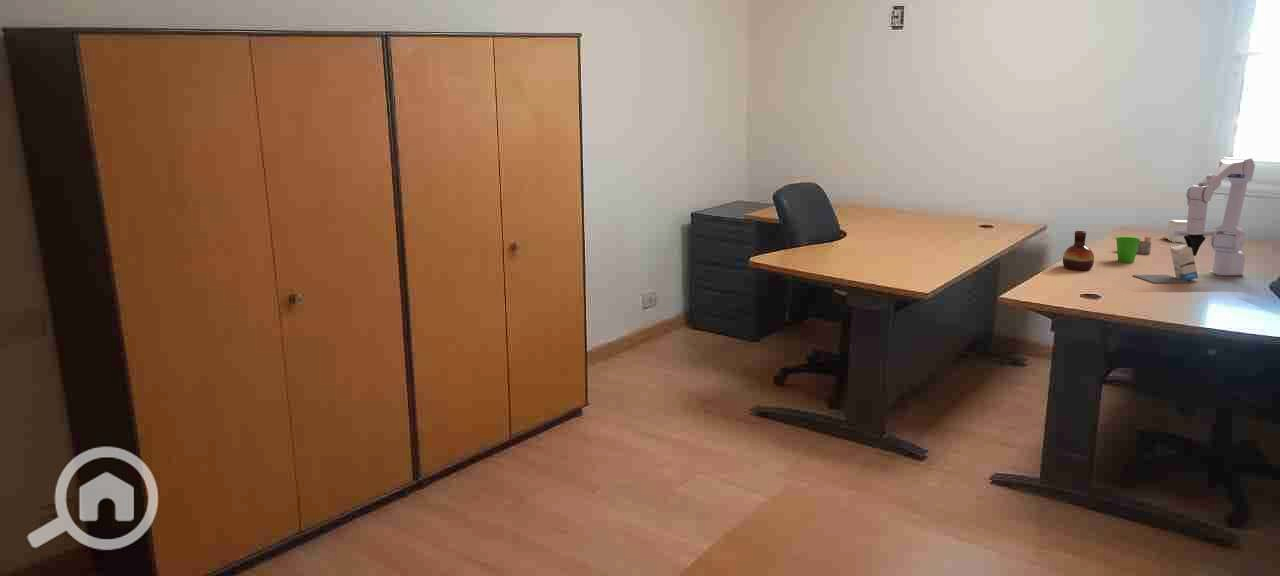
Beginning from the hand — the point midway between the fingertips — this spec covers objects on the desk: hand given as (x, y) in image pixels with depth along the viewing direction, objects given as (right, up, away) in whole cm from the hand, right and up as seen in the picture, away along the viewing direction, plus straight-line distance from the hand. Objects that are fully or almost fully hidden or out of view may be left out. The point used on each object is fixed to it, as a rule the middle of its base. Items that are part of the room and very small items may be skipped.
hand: (1192, 255), depth 334 cm
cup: (-7, -3, +33) cm, 34 cm away
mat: (-11, -9, +2) cm, 14 cm away
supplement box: (+38, +5, +74) cm, 84 cm away
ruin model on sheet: (+6, 0, +50) cm, 51 cm away
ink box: (-1, -8, +2) cm, 9 cm away
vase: (-32, -5, +22) cm, 39 cm away
